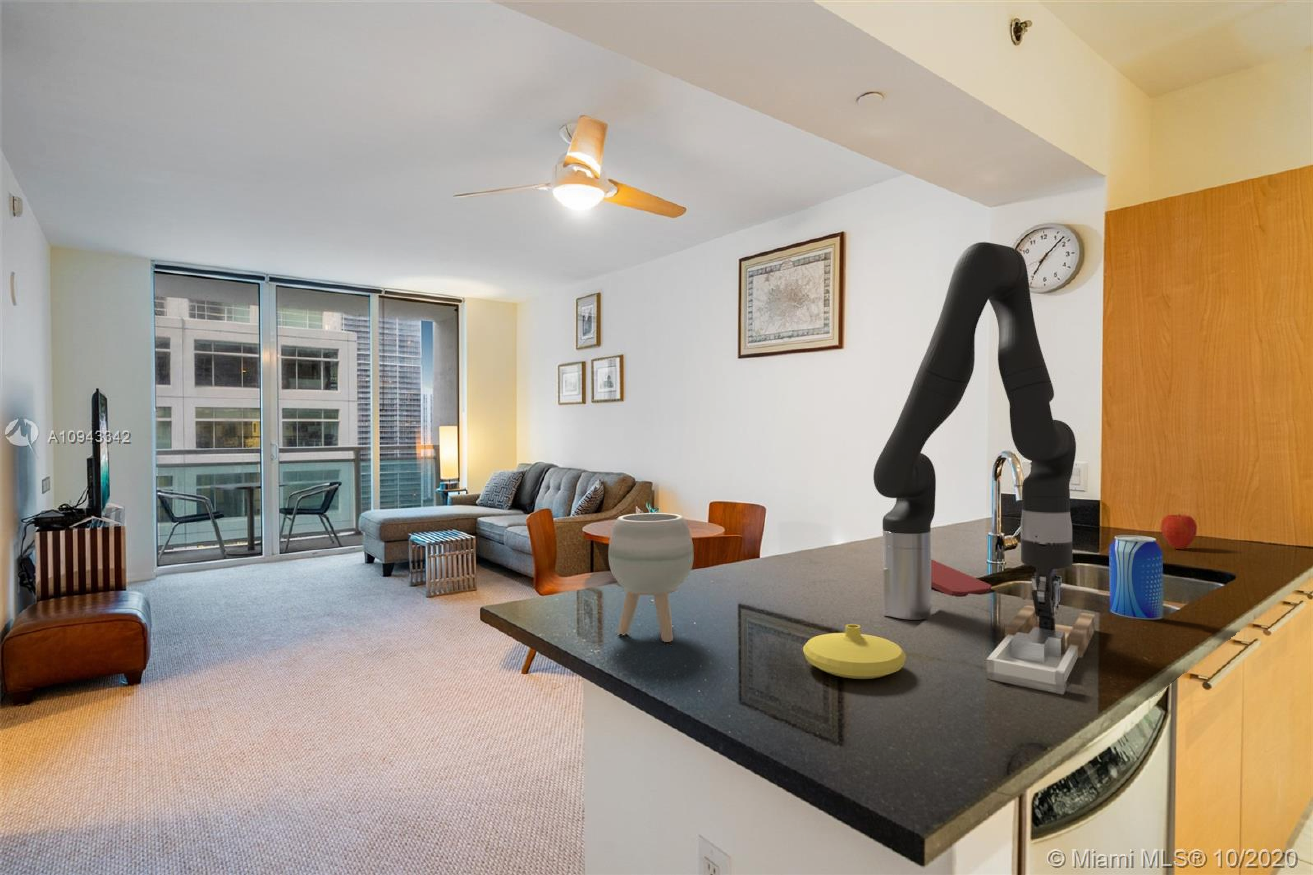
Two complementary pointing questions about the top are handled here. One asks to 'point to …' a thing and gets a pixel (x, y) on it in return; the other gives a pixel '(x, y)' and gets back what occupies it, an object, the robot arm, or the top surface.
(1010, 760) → the top surface
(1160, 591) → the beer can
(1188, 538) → the apple
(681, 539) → the planter
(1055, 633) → the chip
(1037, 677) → the tray
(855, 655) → the vase
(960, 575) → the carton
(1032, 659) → the chip
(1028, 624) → the slot board
